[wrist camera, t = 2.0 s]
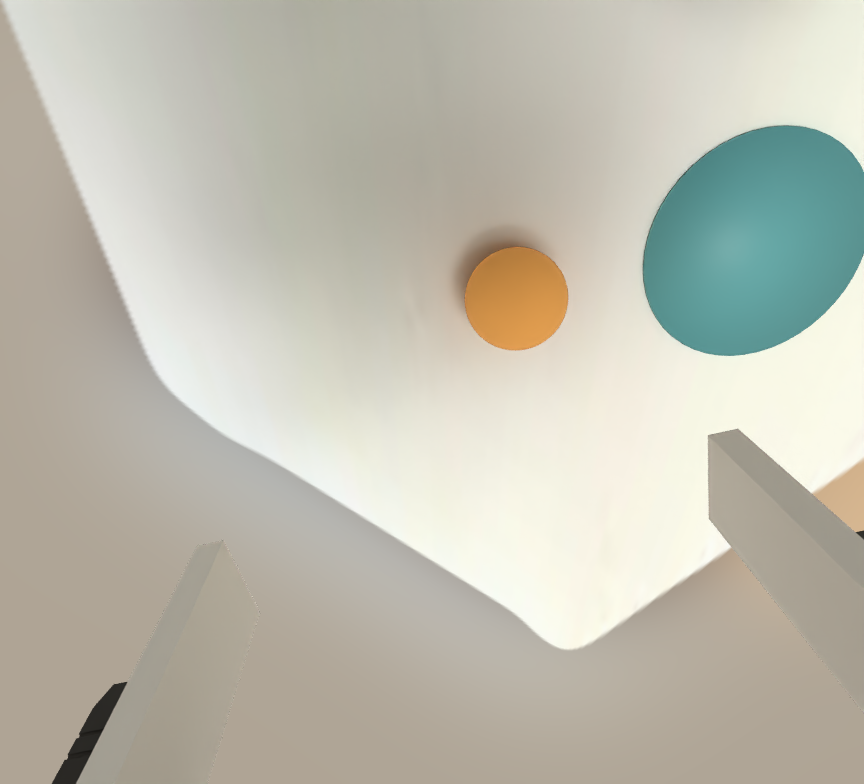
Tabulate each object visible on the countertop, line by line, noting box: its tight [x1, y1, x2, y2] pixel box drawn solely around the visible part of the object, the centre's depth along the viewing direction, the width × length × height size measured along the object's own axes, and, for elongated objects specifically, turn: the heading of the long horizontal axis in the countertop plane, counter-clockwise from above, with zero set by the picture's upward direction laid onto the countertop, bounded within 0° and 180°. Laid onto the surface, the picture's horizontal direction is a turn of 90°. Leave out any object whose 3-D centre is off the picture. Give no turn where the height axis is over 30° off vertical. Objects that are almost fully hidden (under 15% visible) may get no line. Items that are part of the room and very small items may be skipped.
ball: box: [465, 247, 568, 350], centre depth 29 cm, size 6×6×6 cm
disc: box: [643, 126, 864, 356], centre depth 31 cm, size 13×13×1 cm
